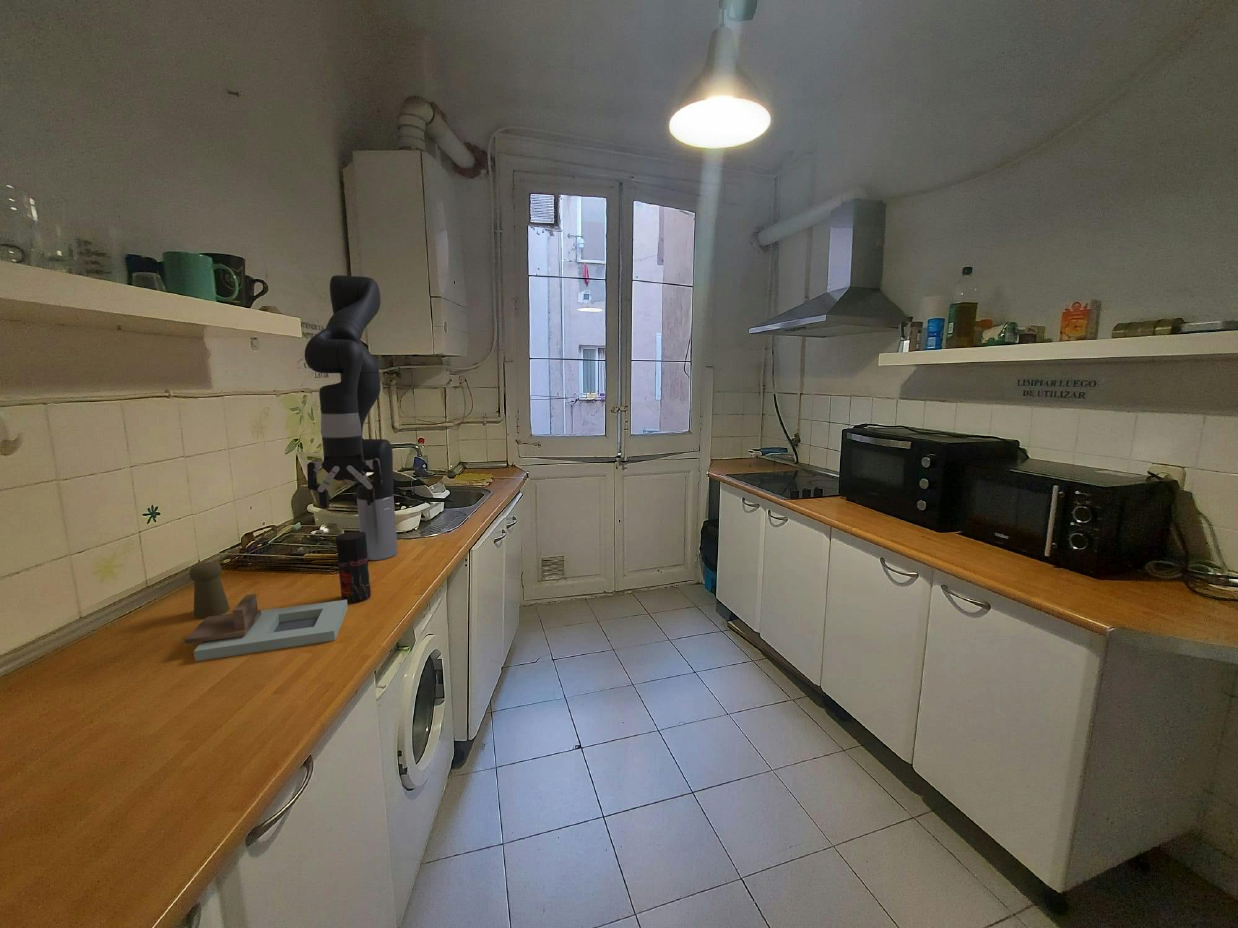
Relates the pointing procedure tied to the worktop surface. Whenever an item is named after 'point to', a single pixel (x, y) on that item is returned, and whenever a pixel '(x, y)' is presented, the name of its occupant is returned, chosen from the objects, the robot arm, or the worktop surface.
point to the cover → (228, 622)
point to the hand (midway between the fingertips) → (348, 506)
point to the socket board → (281, 630)
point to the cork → (208, 590)
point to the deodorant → (353, 567)
